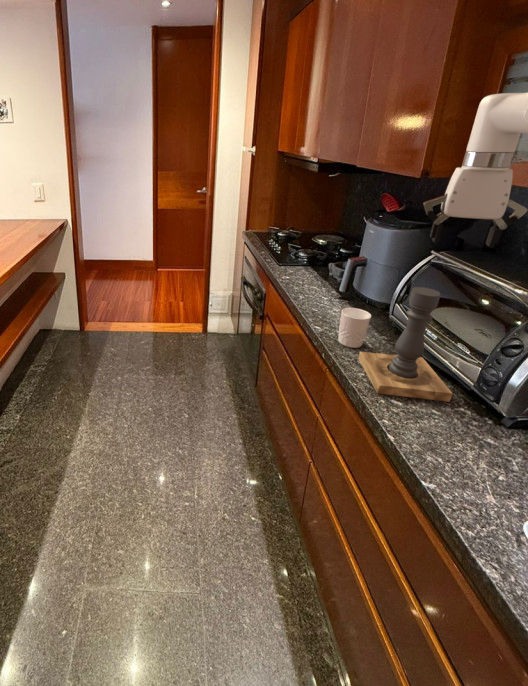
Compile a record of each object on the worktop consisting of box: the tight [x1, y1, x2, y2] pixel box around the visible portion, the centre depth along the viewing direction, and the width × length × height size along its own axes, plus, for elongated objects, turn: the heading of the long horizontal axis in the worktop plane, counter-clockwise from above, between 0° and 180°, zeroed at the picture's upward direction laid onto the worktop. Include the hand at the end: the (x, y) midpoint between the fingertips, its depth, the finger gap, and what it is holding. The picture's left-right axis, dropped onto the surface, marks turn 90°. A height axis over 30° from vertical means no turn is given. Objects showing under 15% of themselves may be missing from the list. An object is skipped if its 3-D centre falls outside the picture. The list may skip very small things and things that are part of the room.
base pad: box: [357, 351, 453, 403], centre depth 101 cm, size 16×16×2 cm
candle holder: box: [388, 286, 441, 379], centre depth 97 cm, size 6×6×25 cm
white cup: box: [337, 307, 372, 349], centre depth 117 cm, size 8×8×10 cm
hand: (461, 243), depth 84 cm, fingers open, 9 cm apart
